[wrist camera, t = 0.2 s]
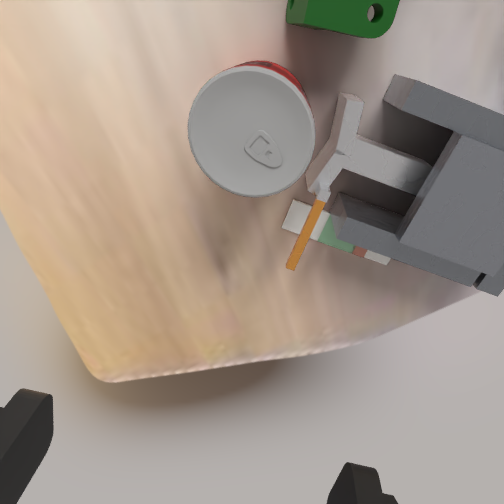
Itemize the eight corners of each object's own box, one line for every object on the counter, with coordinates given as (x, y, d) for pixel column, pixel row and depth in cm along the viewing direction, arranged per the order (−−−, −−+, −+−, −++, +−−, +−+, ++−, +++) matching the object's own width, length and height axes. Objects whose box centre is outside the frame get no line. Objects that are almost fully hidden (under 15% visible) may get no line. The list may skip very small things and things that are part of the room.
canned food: (282, 171, 36) (280, 218, 26) (201, 130, 35) (167, 163, 25) (326, 89, 33) (342, 108, 23) (238, 41, 32) (215, 39, 22)
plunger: (340, 89, 32) (352, 99, 26) (435, 126, 33) (468, 144, 27) (280, 231, 38) (278, 265, 32) (361, 260, 39) (374, 298, 33)
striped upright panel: (293, 199, 37) (293, 200, 37) (401, 238, 38) (402, 240, 38) (281, 226, 38) (281, 228, 38) (386, 264, 39) (386, 266, 39)
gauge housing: (395, 74, 32) (423, 81, 25) (555, 138, 33) (623, 162, 26) (329, 211, 37) (338, 246, 31) (468, 261, 39) (506, 306, 32)
